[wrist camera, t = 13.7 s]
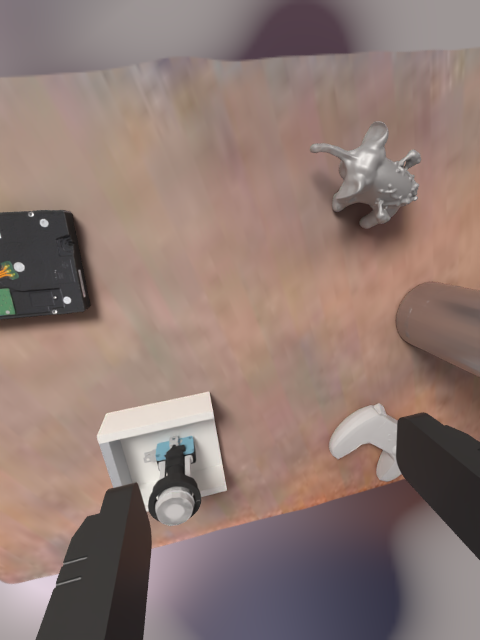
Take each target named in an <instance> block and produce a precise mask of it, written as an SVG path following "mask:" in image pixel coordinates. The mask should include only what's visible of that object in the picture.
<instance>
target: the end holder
mask: <svg viewBox="0 0 480 640" xmlns="http://www.w3.org/2000/svg"><path fill="white" fill-rule="evenodd" d="M173 436H178V439H180V438H184V437H188V436H193V440H194V445H195V450H196V462H195V463H193V464H191V477H192V478H193V479H194V480H195V481H196V483H197V485H198V489H199V491H200V494H201V497H204V496H208V495H212V494H215V493H219V492H223V491H227V487H226V482H225V476H224V471H223V465H222V460H221V454H220V448H219V443H218V437H217V432H216V426H215V420H214V414H213V409H212V403H211V398H210V392H205V393H200V394H196V395H191V396H186V397H181V398H177V399H172V400H167V401H162V402H158V403H153V404H148V405H144V406H139V407H134V408H129V409H125V410H120V411H115V412H110V413H106V415H105V418H104V420H103V423H102V425H101V427H100V430H99V432H98V435H97V439H98V442H99V445H100V448H101V451H102V454H103V457H104V460H105V463H106V467H107V470H108V473H109V476H110V479H111V482H112V485H113V488H115V487H119V486H123V485H127V484H131V483H135V482H136V483H138V485H139V488H140V491H141V495H142V498H143V502H144V505H145V508H146V512H147V511H149V509H148V501H149V497H150V495H151V493H152V491H153V487H154V485H155V484H156V483H157V481H158V480H159V477H160V471H159V469H158V465H157V462H153V461H152V462H148V463H144V459H143V458H144V457H145V455H144V453H145V452H149V451H153V450H154V449H156V447H157V444H158V443H162V442H166V441H169V439H170V437H173ZM175 439H176V438H173V439H172V440H175ZM147 455H148V456H149V455H150V453H148V454H147ZM146 460H147V461H149V460H150V459H149V458H147V459H146ZM166 476H167V474H166ZM193 495H194V494H193V493H192V497H193ZM156 498H157V500H158V496H157V497H156Z"/></svg>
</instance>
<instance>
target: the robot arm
mask: <svg viewBox="0 0 480 640" xmlns="http://www.w3.org/2000/svg"><path fill="white" fill-rule="evenodd" d="M396 327H397V330H398V333H399V334H400V336H401V338H402V339H403V340H405V341H406V342H408V343H410V344H412V345H414V346H416V347H418V348H420V349H422V350H424V351H426V352H428V353H430V354H432V355H434V356H436V357H438V358H440V359H443V360H445V361H447V362H449V363H451V364H453V365H455V366H457V367H459V368H461V369H463V370H465V371H467V372H470V373H472V374H474V375H476V376H478V377H480V291H479V290H474V289H469V288H464V287H459V286H454V285H449V284H444V283H438V282H427V283H423V284H420V285H418V286H417V287H415V288H413V289H412V290H411V291H410V292H409V293H408V294H407V295H406V296H405V297H404V299H403V300H402V302H401V304H400V306H399V309H398V312H397V317H396ZM396 461H397V465H398V467H399V470H400V472H401V473H402V475H403V477H404V478H405V479H406V480H407V481H408V482H409V483H410V485H411V486H412V487H413V488H414V489H415V490H416V491H417V492H418V493H419V494H420V496H421V497H422V498H423V499H424V500H425V501H426V502H427V503H428V504H429V505H430V506H431V508H432V509H433V510H434V511H435V512H436V513H437V514H438V515H439V516H440V517H441V518H442V520H443V521H444V522H445V523H446V524H447V525H448V526H449V527H450V528H451V529H452V530H453V531H454V533H455V534H456V535H457V536H458V537H459V538H460V539H461V540H462V541H463V542H464V544H465V545H466V546H467V547H468V548H469V549H470V550H471V551H472V552H473V553H474V554H475V556H476V557H477V558H478V559H479V560H480V442H478V441H477V440H475V439H474V438H472V437H471V436H470V435H468V434H466V433H464V432H461V431H459V430H457V429H455V428H452V427H450V426H448V425H445V426H444V425H443V424H441V423H440V422H438V421H437V420H436V419H434V418H433V417H432V416H430V415H429V414H427V413H418V414H414V415H410V416H406V417H402V418H400V419H399V420H398V422H397V441H396ZM151 545H152V540H151V528H150V522H149V519H148V515H147V512H146V508H145V505H144V502H143V498H142V495H141V491H140V488H139V485H138V483H136V482H135V483H131V484H127V485H123V486H119V487H115V488H111V489H108V490H107V491H106V494H105V497H104V500H103V504H102V507H101V511H100V513H99V514H95V515H92V516H88V517H87V518H86V519H85V520H84V522H83V523H82V525H81V526H80V527H79V529H78V530H77V532H76V533H75V534H74V536H73V537H72V539H71V542H70V545H69V547H68V550H67V553H66V556H65V559H64V562H63V563H64V565H63V567H61V570H60V573H59V576H58V578H57V581H56V588H54V590H53V592H52V595H51V598H50V601H49V604H48V606H47V610H46V612H45V615H44V618H43V621H42V623H41V626H40V629H39V632H38V635H37V637H36V640H143V635H144V624H145V613H146V602H147V591H148V580H149V569H150V558H151Z"/></svg>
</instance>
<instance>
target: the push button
mask: <svg viewBox="0 0 480 640" xmlns="http://www.w3.org/2000/svg"><path fill="white" fill-rule="evenodd" d="M173 438H176V439H175V440H172V439H173ZM148 453H150V455H149V456H148V455H147V454H148ZM144 455H145V457H144V458H143V459H144V463H148V462H152V461H153V462H157V465H158V469H159V471H160V477H159V480H158V481H157V483H156V484H155V485H154V487H153V491H152V493H151V495H150V497H149V501H148V509H149V512H150V514H151V515H152V517H153V518H155V519H156V520H158V521H160V522H161V523H163V524H166V525H168V526H173V525H179V524H181V523H184V522H186V521H187V520H188V519H189V518H190V517H192V516H193V515H194V514H195V513H196V512H197V511H198V509H199V507H200V504H201V494H200V491H199V489H198V485H197V483H196V481H195V480H194V479H193V478H192V477H191V464H193V463H195V462H196V450H195V445H194V440H193V436H188V437H184V438H180V439H178V436H173V437H170V439H169V441H166V442H162V443H158V444H157V447H156V449H154V450H153V451H149V452H145V453H144ZM147 458H149V459H150V460H149V461H147V460H146V459H147ZM166 474H167V476H166ZM192 493H193V494H194V495H193V497H192ZM157 496H158V500H157V498H156V497H157Z"/></svg>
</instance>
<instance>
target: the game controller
mask: <svg viewBox="0 0 480 640" xmlns="http://www.w3.org/2000/svg"><path fill="white" fill-rule="evenodd" d="M397 422H398V421H397V420H396V419H394V418H392V417H391V416H389V415H387V414H386V413H385V409H384V406H382V405H380V404H376V405H374V406H373V405H369V406H366V407H363V408H361V409H359V410H357V411H355V412H353V413H352V414H351V415H349V416H348V417H347V418H345V419H344V420H343V421H342V422H341V423H340V424H339V426H338V427H337V428H336V430H335V431H334V433H333V434H332V436H331V439H330V442H329V449H330V452H331V453H332V455H333V456H334V457H336V458H337V459H339V458H341V457H343V456H345V455H347V454H349V453H350V452H352V451H353V450H355V449H356V448H358V447H359V446H360V445H362V444H367V443H371V444H373V445H375V446H377V447H379V448H380V449H382V450H383V451H382V453H381V455H380V458H379V460H378V464H377V469H376V474H377V477H378V478H379V479H380V480H382V481H391V480H393V479H395V478H397V477H398V476H399V475H401V474H402V473H401V472H400V470H399V467H398V465H397V461H396V441H397Z"/></svg>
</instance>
